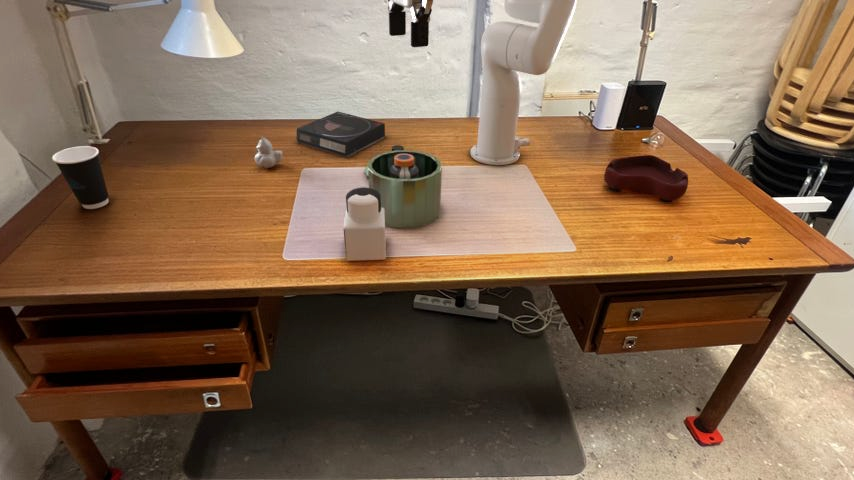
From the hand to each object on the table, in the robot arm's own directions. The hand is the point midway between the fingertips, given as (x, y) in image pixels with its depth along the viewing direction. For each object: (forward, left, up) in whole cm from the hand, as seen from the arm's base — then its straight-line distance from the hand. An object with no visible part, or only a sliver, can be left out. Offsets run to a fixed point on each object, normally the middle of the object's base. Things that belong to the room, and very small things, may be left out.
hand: (408, 40), depth 93 cm
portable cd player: (+3, -37, -32) cm, 49 cm away
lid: (-3, -12, -32) cm, 34 cm away
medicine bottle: (+16, +16, -32) cm, 39 cm away
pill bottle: (+3, +4, -32) cm, 32 cm away
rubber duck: (+24, -28, -32) cm, 49 cm away
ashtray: (-53, +17, -32) cm, 64 cm away
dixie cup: (+61, -24, -32) cm, 73 cm away
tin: (+3, +5, -32) cm, 33 cm away
